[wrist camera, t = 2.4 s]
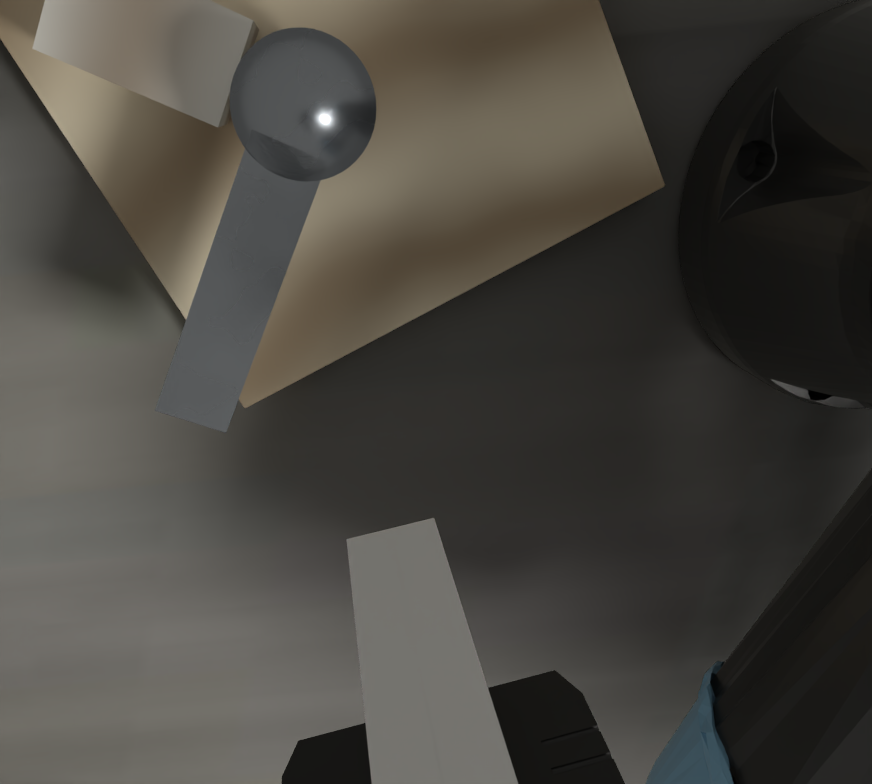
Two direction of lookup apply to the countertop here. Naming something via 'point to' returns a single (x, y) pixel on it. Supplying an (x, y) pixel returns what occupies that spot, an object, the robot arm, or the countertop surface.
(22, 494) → the countertop surface
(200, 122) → the lock plate
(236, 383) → the swing bar
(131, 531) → the countertop surface
